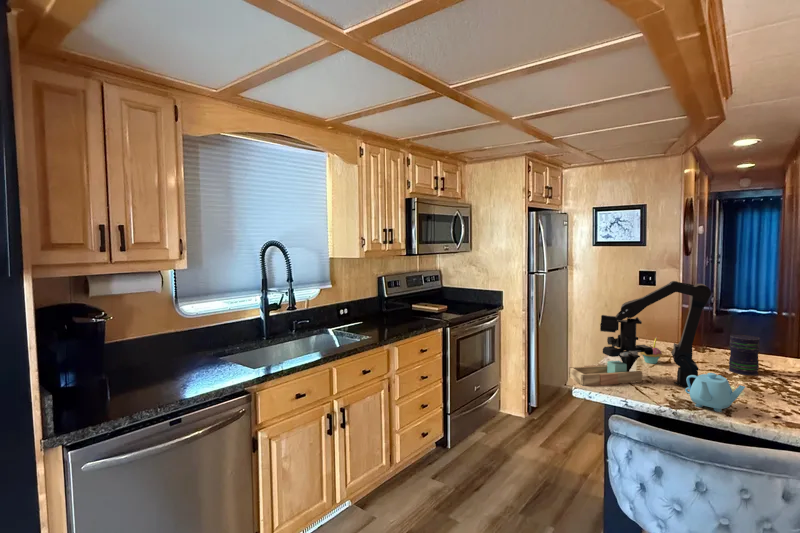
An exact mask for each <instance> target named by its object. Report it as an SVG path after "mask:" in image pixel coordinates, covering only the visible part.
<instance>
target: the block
mask: <svg viewBox="0 0 800 533" xmlns="http://www.w3.org/2000/svg"><path fill="white" fill-rule="evenodd" d="M613 372H627V364H625V363H623V362H622V360H621V361H620V360H609V361H607V373H613Z"/></svg>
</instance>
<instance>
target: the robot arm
mask: <svg viewBox="0 0 800 533" xmlns="http://www.w3.org/2000/svg"><path fill="white" fill-rule="evenodd" d="M674 293H680V294H684V295H686V296H687V295H688V296H689V309H688V313H687V317H686V320H685V324H684V326H683V331H682V334H681V338H680V340H679V342H678V343H676V342H675V343H673V347H672V348H673V349H672V351H670V354H671V356H672V358H673V362H674V363H675V364H676V366H678V367H677V372H676V381H673V383H674V384H675V385H678V386H680V387H683V388H685V389H686V388H687V387H688V384H687V381H686V379H687V377H688V376H690V375H696V376H699V367H698V365H697V363H696V362H695V360H693V343H694V340H695V336H696V333H697V329H698V326H699V322H700V321H701V320H700V319H701V316H702V312H703V309H704V308H705V307H706V305H707V304H708V302H709V301H710V298H711V296H712V290H711V288H710V287H708V286H707V285H705V284H704V283H695V284H690V283H685V282H680V281H677V280H672V281H670V282H668V283H667V284H665V285H663V286H661V287H659V288H658V289H655V290H653V291H651V292H650V293H648V294H646V295H644V296H642V297H639V298H635V299H632V300H629V301H625V302H623V303H622V304H621V307H620V311H618V313H616V315H606V314H602V315H601V316H600V317H601V318H600V323H599V325H600V329H599V331H600V332H602V333H603V332H605V333H606V332H607V333H616V332H617V331H619V326H620V331H619V332H620V333H619V334H617V338H615V337H614V336H607V345H609V346H604V347H603V348H602V354H604V355H606V356H608V357H610V358H616V357H617V358H618V357H619V358H620V360H621V362H623V363H625V364H627V372H631V369H632V368H633V365H634V364H635V362H636V361H637V359H638V358H640V357H641V356H640V355H639V353H640V352H644V353H645V354H646V355H653V349H652V347H653V346H649V345H646V344H637V341H639V337H638V336H637V325H642V322H643V321H642V320H640V319H639V317H638V316H637V315H639V314H640V313H641V312H643V310H644V309H646V308H648V306H651V305H653V304H655V303H657V302H659V301H661V300H663V299H665V298H667V297H668V296H671V295H672V294H674ZM619 323H620V325H619ZM695 379H696V378H694V377H691V378H690V379H689V381H690V384H691V386H692V384H693V382H694V380H695Z"/></svg>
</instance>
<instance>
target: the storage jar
mask: <svg viewBox="0 0 800 533" xmlns="http://www.w3.org/2000/svg"><path fill="white" fill-rule="evenodd" d="M729 338H730V339H729V340H730V341H729V349H730V350H729V351H730V353H729V355H730V356H729V359H728V360H729V361H728V370H729V372H731V373H734V374H738V375H743V376H757V375H759V369H760V368H759V367H760V366H759V364H760V362H759V352H760V347H761V346H760V337H758V336H754V335H750V334H741V333H740V334H738V333H735V334H730V337H729Z"/></svg>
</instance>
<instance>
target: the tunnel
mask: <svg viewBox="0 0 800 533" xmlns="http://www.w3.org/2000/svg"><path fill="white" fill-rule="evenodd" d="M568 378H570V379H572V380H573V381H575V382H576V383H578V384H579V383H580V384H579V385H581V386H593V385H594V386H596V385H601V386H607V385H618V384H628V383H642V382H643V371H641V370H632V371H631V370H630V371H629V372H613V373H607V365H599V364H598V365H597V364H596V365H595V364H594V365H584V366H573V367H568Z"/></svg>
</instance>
